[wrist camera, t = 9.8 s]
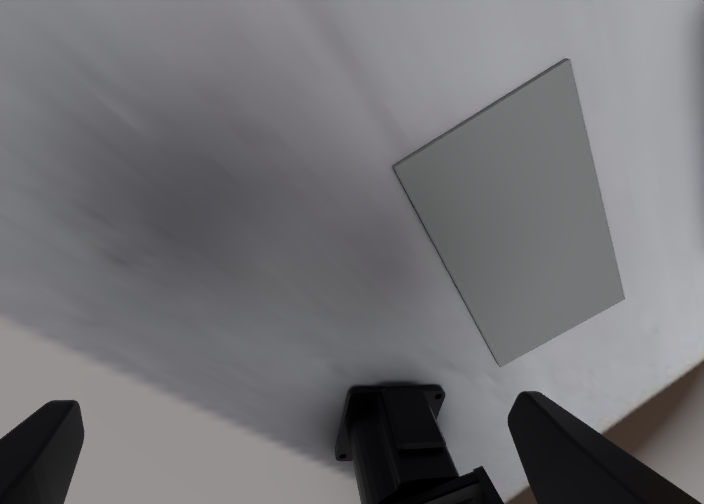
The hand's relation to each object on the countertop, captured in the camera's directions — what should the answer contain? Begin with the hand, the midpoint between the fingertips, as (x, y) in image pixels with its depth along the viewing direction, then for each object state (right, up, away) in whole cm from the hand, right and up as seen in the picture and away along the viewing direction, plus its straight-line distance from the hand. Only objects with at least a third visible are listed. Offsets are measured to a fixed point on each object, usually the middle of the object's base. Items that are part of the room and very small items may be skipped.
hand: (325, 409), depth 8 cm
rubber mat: (+10, +4, +14) cm, 18 cm away
